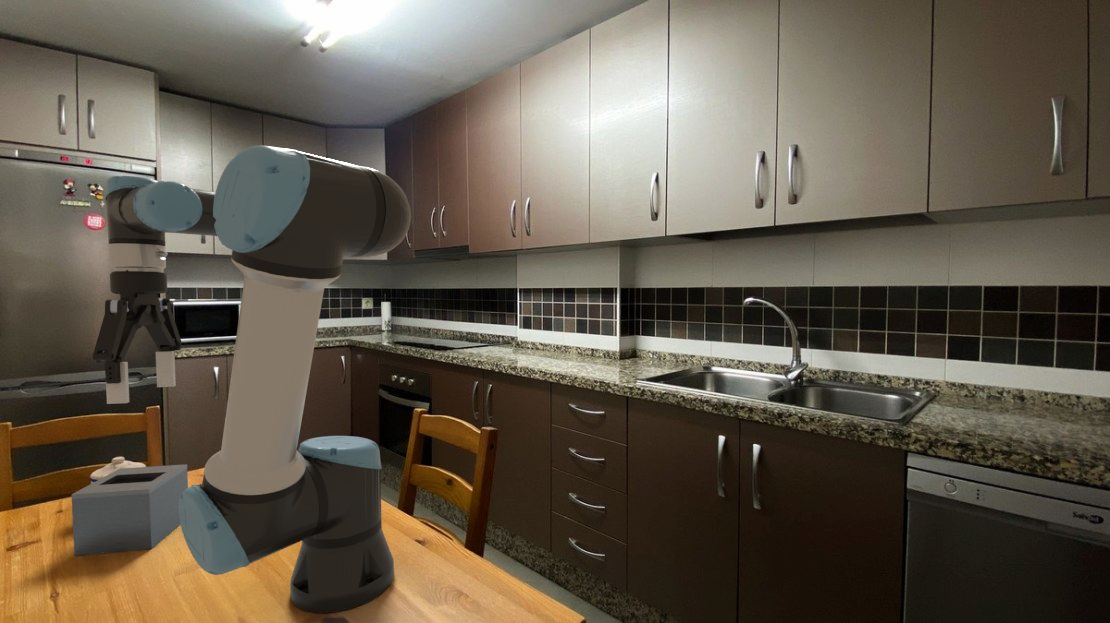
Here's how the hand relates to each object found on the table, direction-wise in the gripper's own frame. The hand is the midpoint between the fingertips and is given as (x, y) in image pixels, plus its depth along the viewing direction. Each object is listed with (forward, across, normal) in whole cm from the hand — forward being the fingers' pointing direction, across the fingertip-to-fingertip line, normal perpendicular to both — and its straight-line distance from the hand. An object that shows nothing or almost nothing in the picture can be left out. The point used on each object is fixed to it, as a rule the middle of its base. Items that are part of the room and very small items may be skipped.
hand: (144, 394), depth 87 cm
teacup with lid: (+29, +22, +18) cm, 41 cm away
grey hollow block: (+29, +10, +8) cm, 31 cm away
